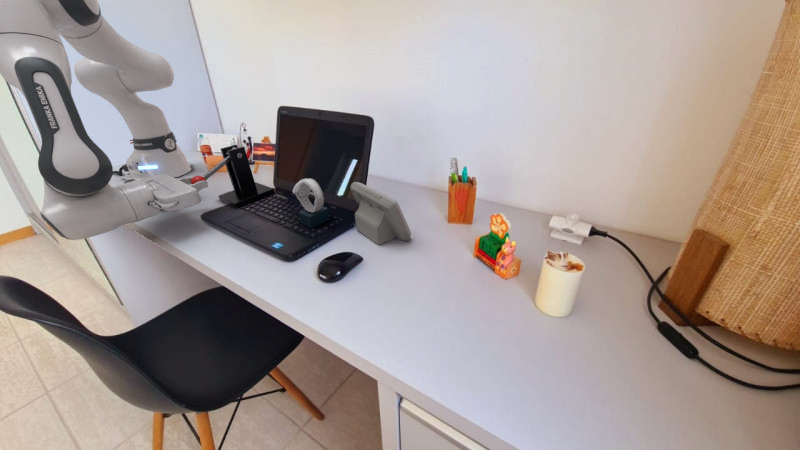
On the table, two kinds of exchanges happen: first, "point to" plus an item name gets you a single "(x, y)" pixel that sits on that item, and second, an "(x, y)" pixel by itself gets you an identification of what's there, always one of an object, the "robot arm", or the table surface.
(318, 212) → the ring sculpture on base
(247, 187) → the switch bracket
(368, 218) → the digital clock
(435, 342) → the table surface
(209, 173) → the switch lever
